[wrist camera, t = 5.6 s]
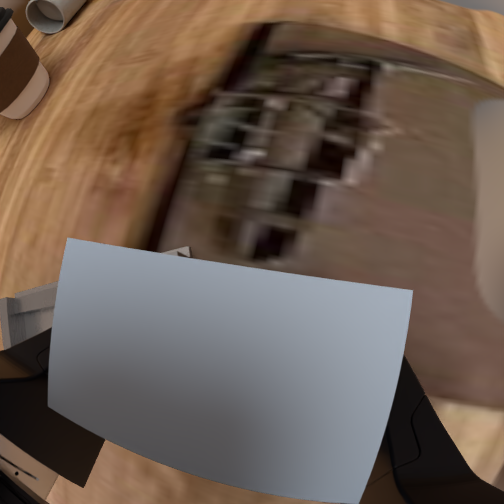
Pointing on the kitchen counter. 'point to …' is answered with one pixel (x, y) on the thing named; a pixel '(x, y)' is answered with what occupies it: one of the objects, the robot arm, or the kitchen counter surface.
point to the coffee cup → (18, 71)
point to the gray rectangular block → (228, 367)
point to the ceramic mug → (52, 13)
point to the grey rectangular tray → (38, 309)
